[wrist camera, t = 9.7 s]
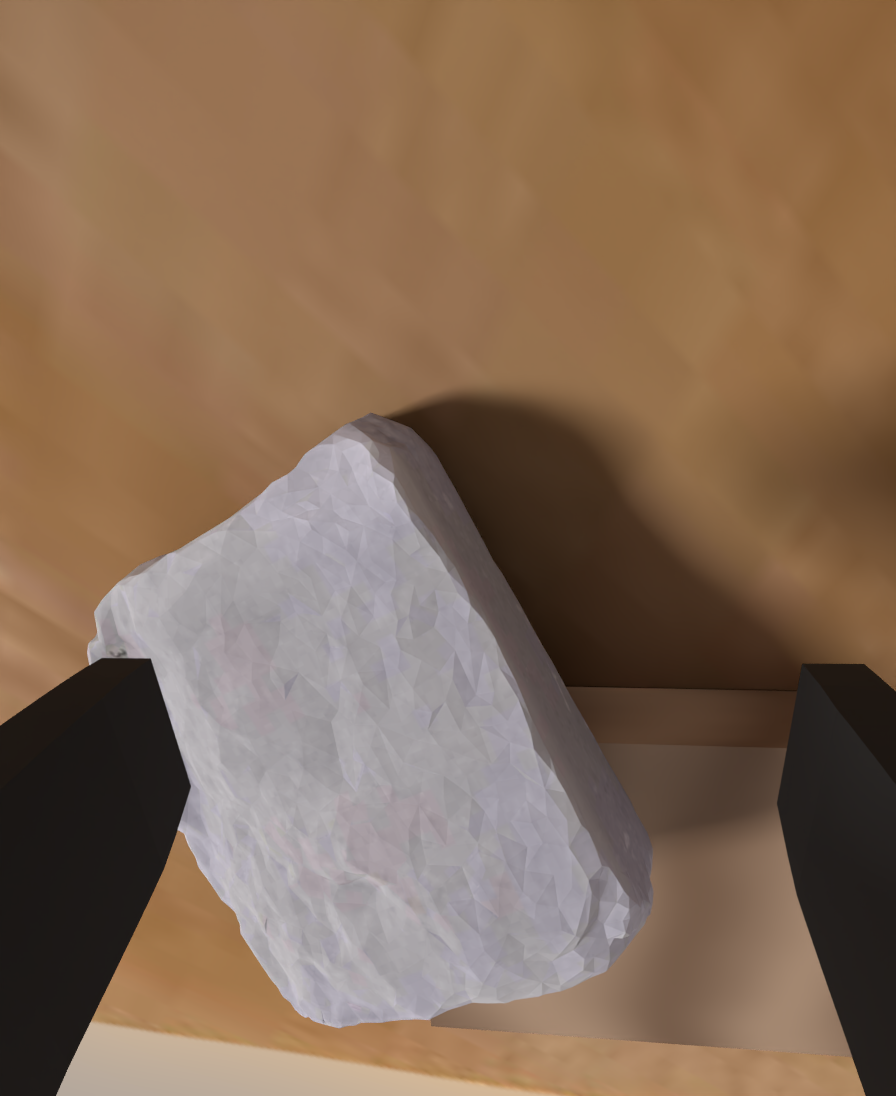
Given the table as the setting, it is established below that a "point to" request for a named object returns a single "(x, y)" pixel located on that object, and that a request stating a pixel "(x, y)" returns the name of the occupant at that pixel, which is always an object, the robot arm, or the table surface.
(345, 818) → the stone block
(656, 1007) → the walnut base
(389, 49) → the table surface
